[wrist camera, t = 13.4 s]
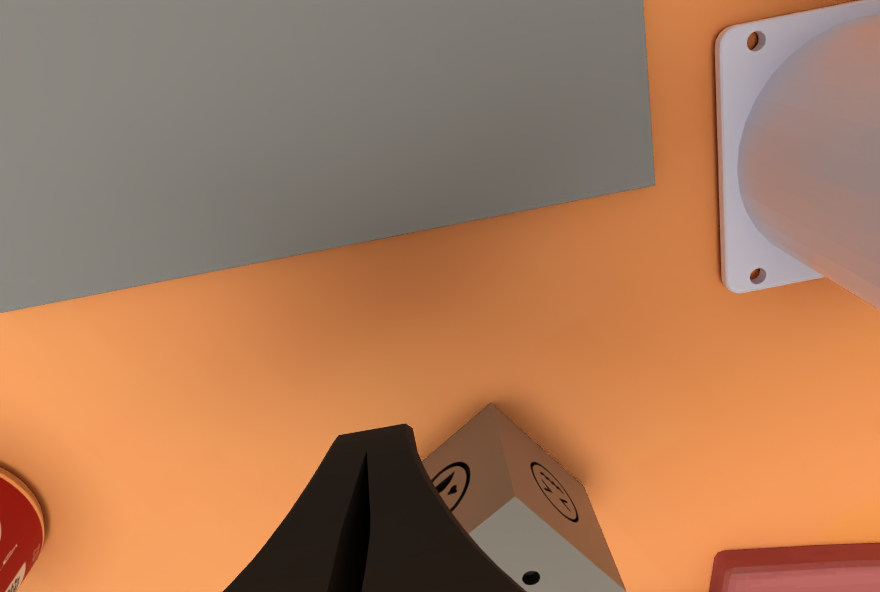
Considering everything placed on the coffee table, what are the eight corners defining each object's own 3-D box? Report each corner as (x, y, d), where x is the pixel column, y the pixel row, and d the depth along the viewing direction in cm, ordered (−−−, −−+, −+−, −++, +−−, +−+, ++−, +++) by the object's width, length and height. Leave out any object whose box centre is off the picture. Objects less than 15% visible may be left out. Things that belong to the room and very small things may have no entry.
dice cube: (386, 490, 25) (386, 599, 20) (490, 401, 24) (515, 495, 19) (481, 565, 26) (501, 683, 22) (583, 485, 25) (626, 591, 21)
